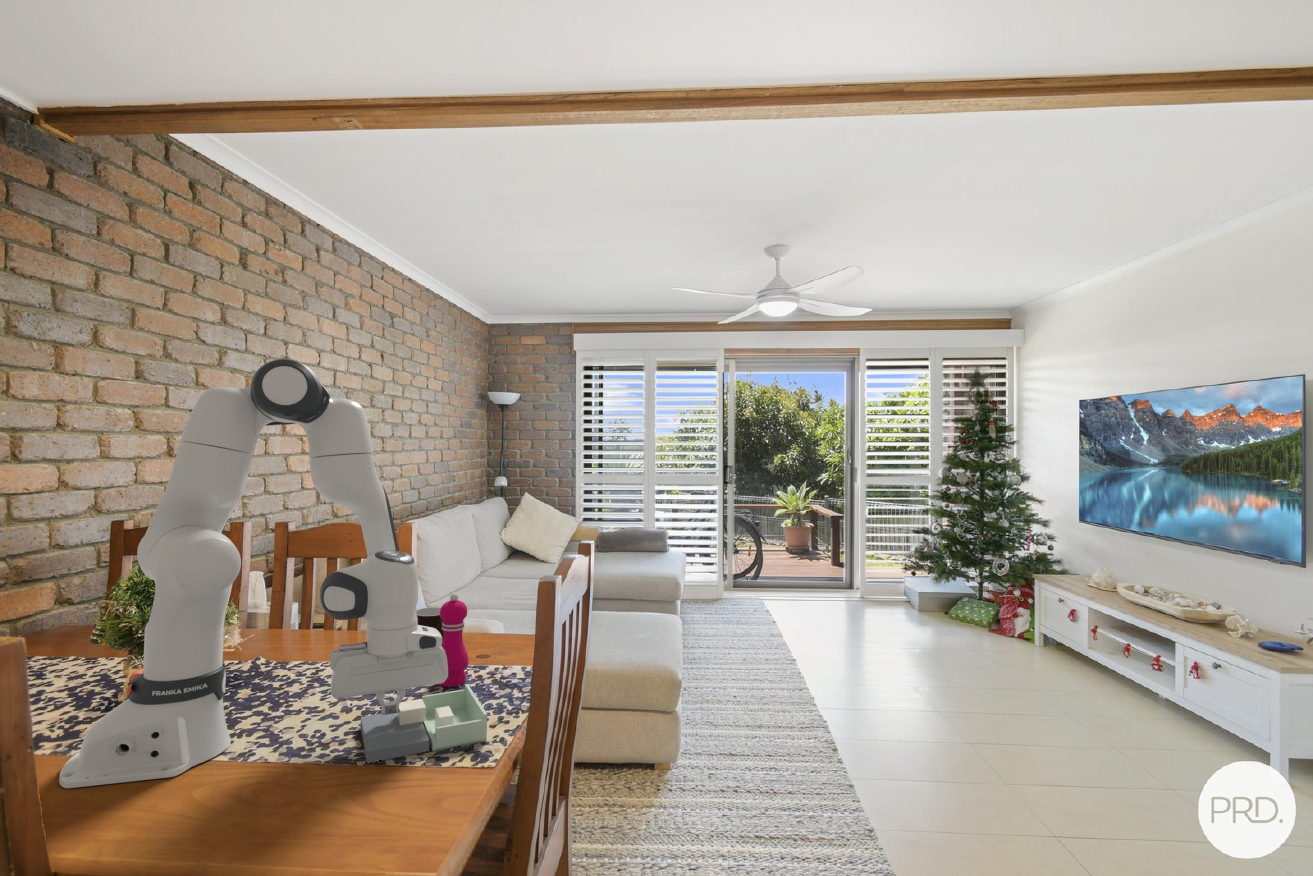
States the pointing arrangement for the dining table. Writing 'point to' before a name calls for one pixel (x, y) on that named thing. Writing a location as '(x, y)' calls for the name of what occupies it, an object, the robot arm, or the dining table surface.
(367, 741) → the slate plate
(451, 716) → the tile front
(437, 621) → the coffee mug
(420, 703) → the tile back
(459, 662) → the pepper mill
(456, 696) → the bin
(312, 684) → the dining table surface
